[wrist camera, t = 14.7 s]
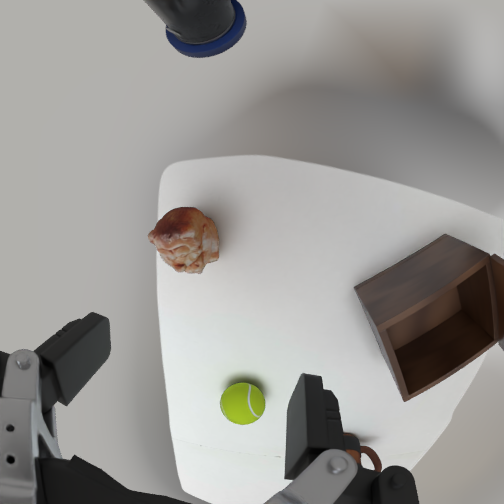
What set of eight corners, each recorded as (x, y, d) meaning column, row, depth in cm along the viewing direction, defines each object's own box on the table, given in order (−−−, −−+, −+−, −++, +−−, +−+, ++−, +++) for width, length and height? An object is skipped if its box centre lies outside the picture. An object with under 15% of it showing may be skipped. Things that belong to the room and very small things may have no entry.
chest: (383, 356, 39) (404, 402, 28) (353, 287, 36) (376, 326, 26) (463, 308, 35) (498, 341, 25) (445, 233, 33) (489, 253, 22)
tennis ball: (237, 407, 44) (230, 435, 38) (217, 380, 43) (207, 409, 36) (273, 397, 43) (271, 427, 36) (255, 369, 42) (250, 399, 35)
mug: (372, 447, 45) (382, 488, 34) (318, 457, 47) (320, 500, 35) (376, 424, 43) (388, 469, 32) (316, 435, 45) (318, 483, 33)
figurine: (194, 260, 38) (146, 308, 23) (180, 205, 36) (120, 225, 22) (238, 252, 37) (210, 299, 22) (225, 194, 35) (185, 207, 21)
